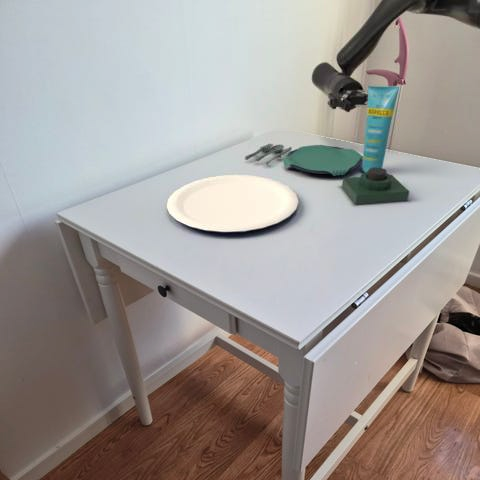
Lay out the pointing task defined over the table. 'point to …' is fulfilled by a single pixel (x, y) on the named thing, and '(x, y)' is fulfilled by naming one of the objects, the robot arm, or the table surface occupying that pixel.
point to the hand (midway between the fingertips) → (365, 106)
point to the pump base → (374, 189)
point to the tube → (378, 124)
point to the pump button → (376, 174)
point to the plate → (232, 203)
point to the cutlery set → (315, 158)
